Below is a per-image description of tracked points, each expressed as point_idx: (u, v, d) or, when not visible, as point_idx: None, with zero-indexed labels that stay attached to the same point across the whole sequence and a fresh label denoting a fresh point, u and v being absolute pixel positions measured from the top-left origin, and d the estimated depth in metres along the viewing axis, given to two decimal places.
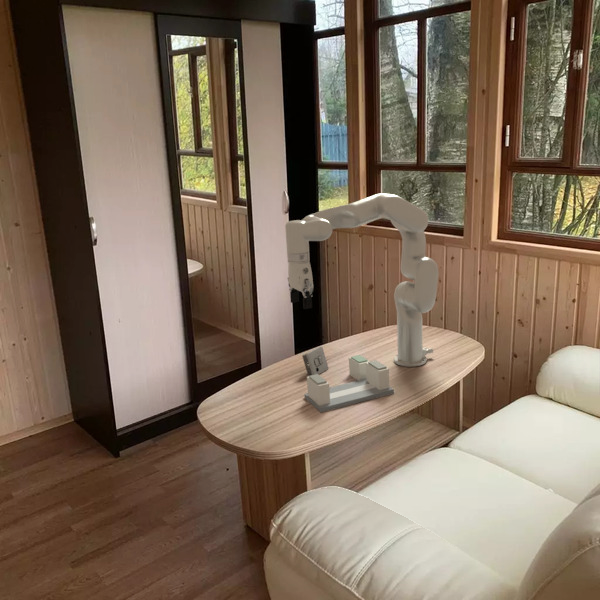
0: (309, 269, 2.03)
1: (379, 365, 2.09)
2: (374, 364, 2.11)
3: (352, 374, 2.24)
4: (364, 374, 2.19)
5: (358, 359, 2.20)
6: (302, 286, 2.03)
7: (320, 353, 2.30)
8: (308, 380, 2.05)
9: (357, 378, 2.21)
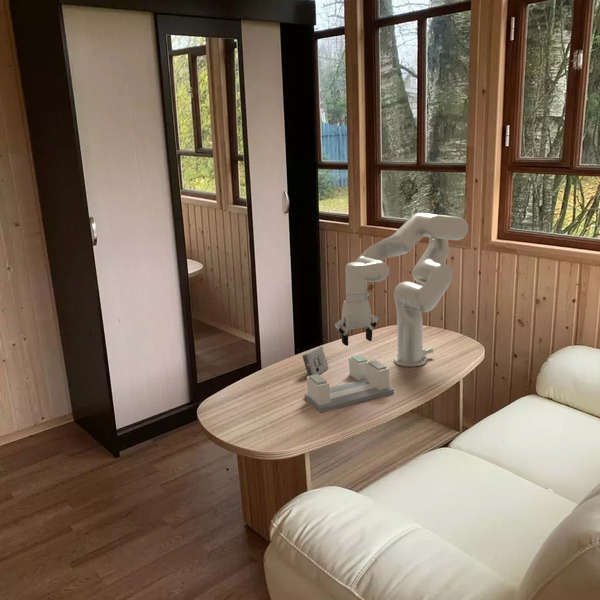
0: None
1: (379, 365, 2.09)
2: (374, 364, 2.11)
3: (352, 374, 2.24)
4: (364, 374, 2.19)
5: (358, 359, 2.20)
6: None
7: (320, 353, 2.30)
8: (308, 380, 2.05)
9: (357, 378, 2.21)
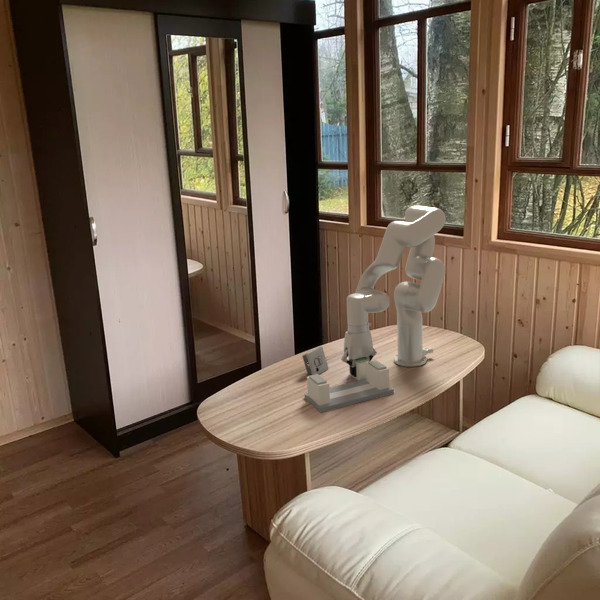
0: None
1: (379, 365, 2.09)
2: (374, 364, 2.11)
3: None
4: (364, 374, 2.19)
5: (358, 359, 2.20)
6: None
7: (320, 353, 2.30)
8: (308, 380, 2.05)
9: (357, 378, 2.21)
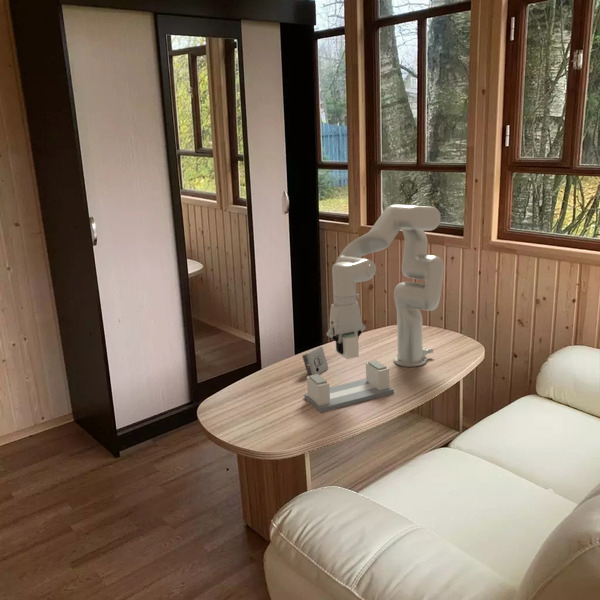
0: None
1: (379, 365, 2.09)
2: (374, 364, 2.11)
3: None
4: (351, 350, 2.00)
5: (345, 334, 2.01)
6: None
7: (320, 353, 2.30)
8: (308, 380, 2.05)
9: (344, 355, 2.02)
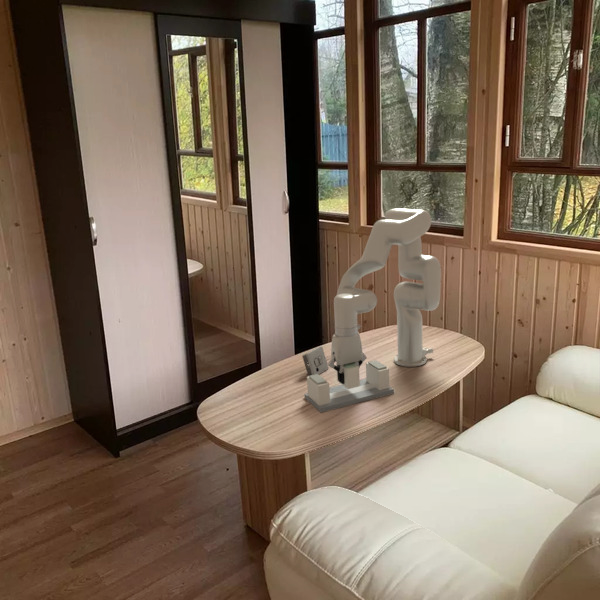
0: None
1: (379, 365, 2.09)
2: (374, 364, 2.11)
3: None
4: (353, 380, 2.03)
5: (346, 364, 2.04)
6: None
7: (320, 353, 2.30)
8: (308, 380, 2.05)
9: (345, 385, 2.04)
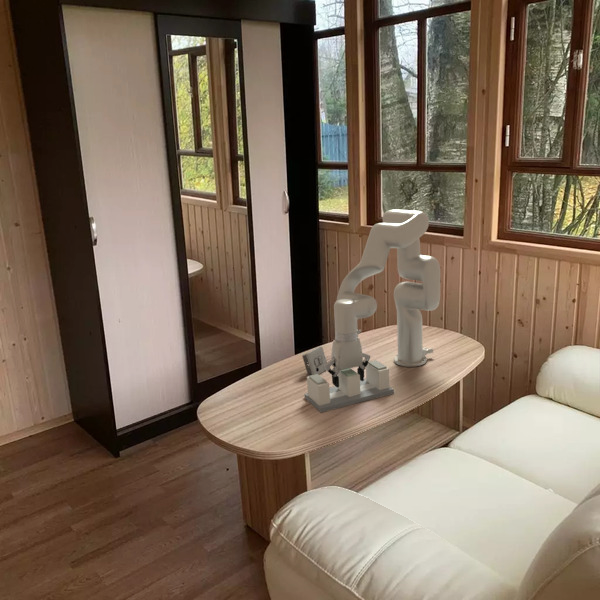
0: None
1: (379, 365, 2.09)
2: (374, 364, 2.11)
3: (341, 388, 2.09)
4: (353, 388, 2.04)
5: (347, 372, 2.05)
6: (362, 359, 2.06)
7: (320, 353, 2.30)
8: (308, 380, 2.05)
9: (346, 392, 2.06)
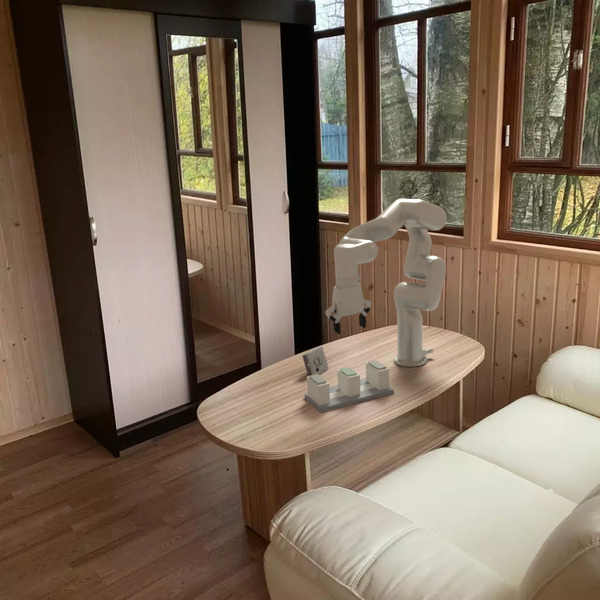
0: None
1: (379, 365, 2.09)
2: (374, 364, 2.11)
3: (341, 388, 2.09)
4: (353, 388, 2.04)
5: (347, 372, 2.05)
6: (363, 305, 2.03)
7: (320, 353, 2.30)
8: (308, 380, 2.05)
9: (346, 392, 2.06)
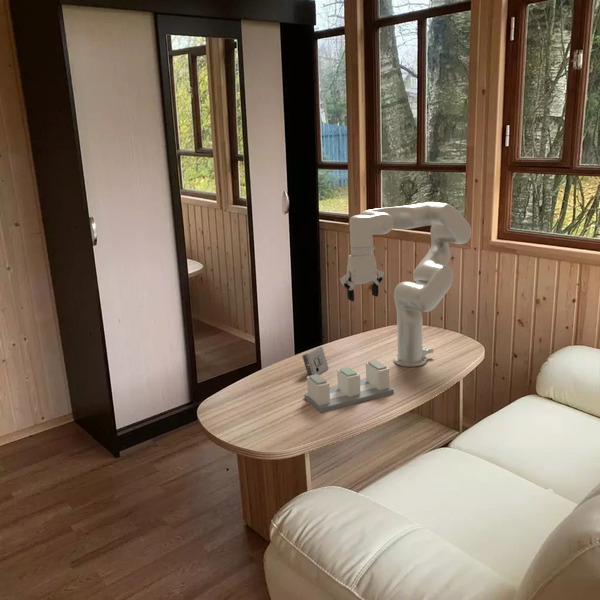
0: None
1: (379, 365, 2.09)
2: (374, 364, 2.11)
3: (341, 388, 2.09)
4: (353, 388, 2.04)
5: (347, 372, 2.05)
6: (376, 274, 2.13)
7: (320, 353, 2.30)
8: (308, 380, 2.05)
9: (346, 392, 2.06)
